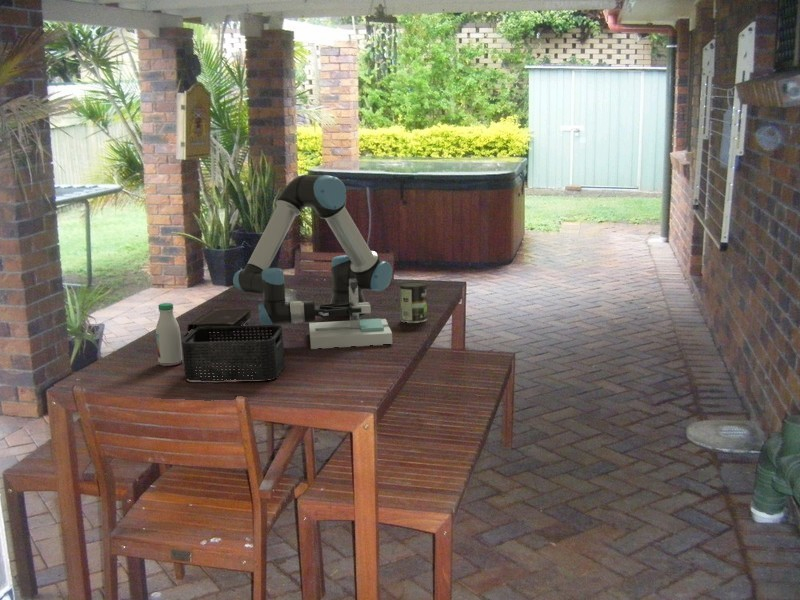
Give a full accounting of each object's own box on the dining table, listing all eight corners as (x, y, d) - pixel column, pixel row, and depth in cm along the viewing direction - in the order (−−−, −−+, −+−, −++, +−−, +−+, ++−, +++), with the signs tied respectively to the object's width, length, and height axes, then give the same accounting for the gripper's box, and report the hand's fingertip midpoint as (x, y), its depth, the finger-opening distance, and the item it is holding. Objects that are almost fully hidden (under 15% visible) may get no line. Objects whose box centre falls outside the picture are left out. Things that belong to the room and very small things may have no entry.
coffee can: (429, 317, 353) (428, 281, 350) (424, 323, 343) (424, 286, 340) (403, 316, 355) (402, 281, 352) (398, 323, 345) (396, 286, 342)
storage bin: (182, 383, 277) (178, 341, 275) (199, 365, 296) (196, 325, 294) (275, 382, 276) (272, 340, 273) (286, 365, 295) (284, 324, 292)
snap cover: (358, 322, 330) (358, 319, 330) (380, 321, 331) (380, 318, 331) (361, 332, 317) (360, 328, 317) (383, 330, 318) (383, 327, 317)
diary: (187, 336, 338) (186, 323, 337) (210, 320, 362) (209, 308, 361) (235, 336, 335) (234, 322, 334) (256, 320, 359) (255, 307, 358)
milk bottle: (187, 361, 302) (182, 302, 297) (174, 367, 294) (169, 307, 290) (167, 359, 304) (162, 301, 300) (153, 366, 297) (148, 306, 293)
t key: (350, 332, 327) (347, 278, 323) (359, 332, 328) (356, 278, 324) (351, 337, 321) (349, 282, 316) (360, 337, 321) (358, 282, 317)
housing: (309, 333, 333) (309, 322, 332) (385, 329, 336) (385, 318, 335) (310, 349, 312) (310, 337, 311) (392, 344, 315) (392, 333, 314)
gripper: (303, 316, 329) (368, 312, 331) (304, 327, 312) (372, 323, 315) (302, 296, 327) (367, 292, 330) (303, 306, 311) (371, 302, 313)
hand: (369, 307), depth 322 cm, fingers open, 4 cm apart
